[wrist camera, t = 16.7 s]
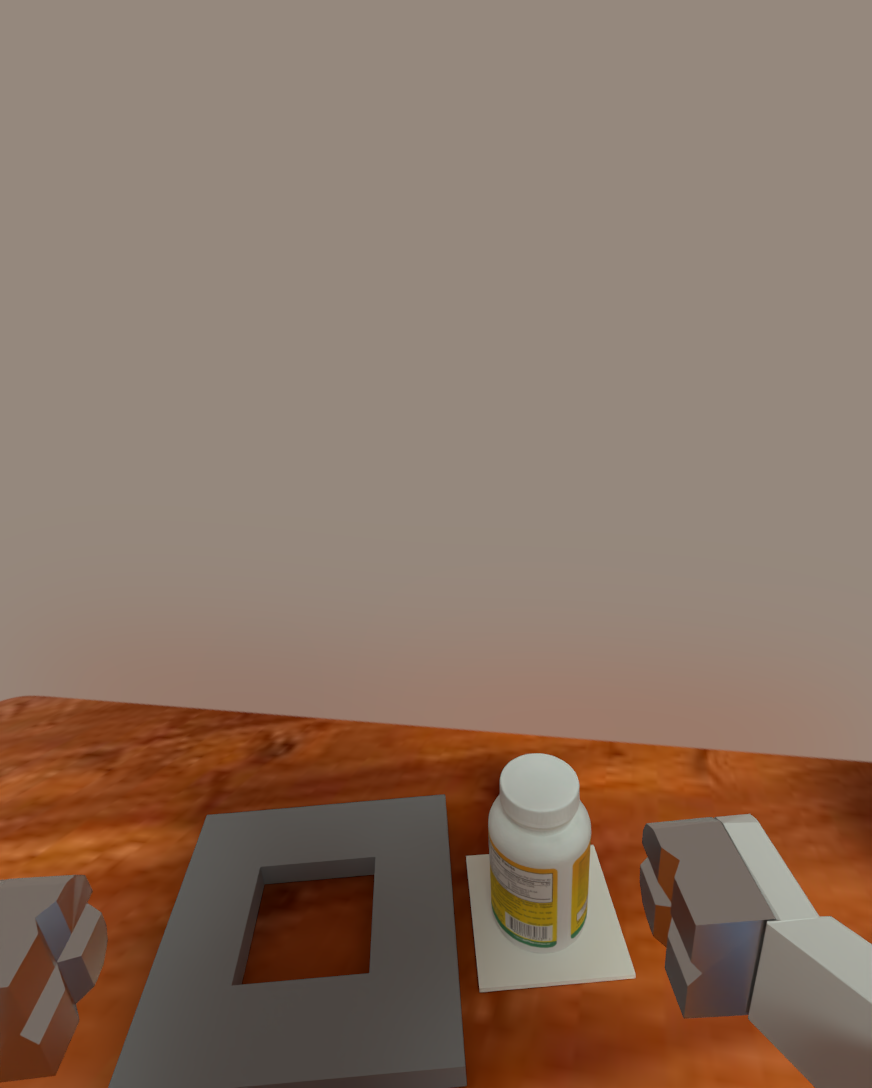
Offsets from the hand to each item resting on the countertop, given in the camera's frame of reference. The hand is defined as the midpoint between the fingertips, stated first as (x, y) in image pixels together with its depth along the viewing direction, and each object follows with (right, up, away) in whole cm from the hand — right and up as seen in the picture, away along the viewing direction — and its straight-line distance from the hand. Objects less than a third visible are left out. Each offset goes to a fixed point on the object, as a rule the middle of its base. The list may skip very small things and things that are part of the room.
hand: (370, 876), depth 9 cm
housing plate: (-6, -17, +27) cm, 32 cm away
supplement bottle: (+7, -16, +27) cm, 32 cm away
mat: (+7, -16, +27) cm, 32 cm away
